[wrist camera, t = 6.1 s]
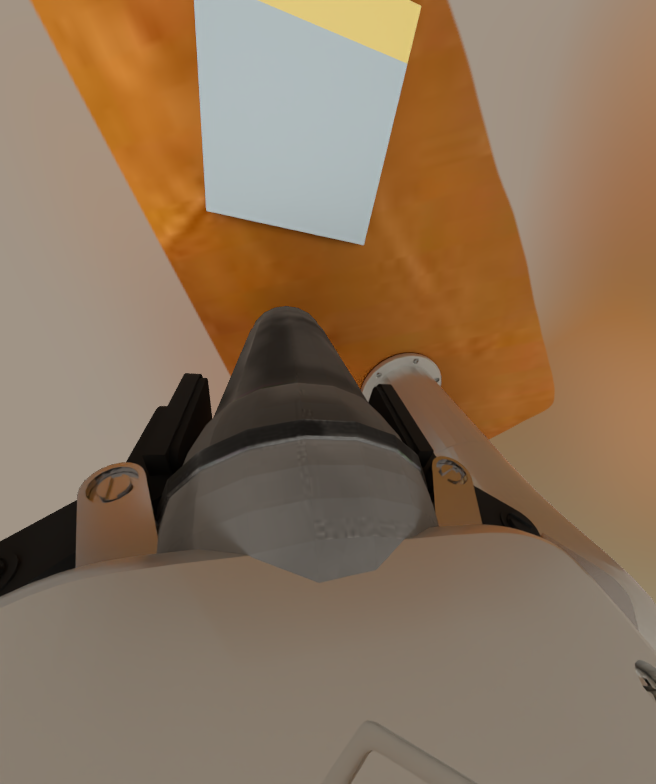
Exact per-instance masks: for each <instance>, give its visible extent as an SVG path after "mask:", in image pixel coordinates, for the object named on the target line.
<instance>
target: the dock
mask: <svg viewBox="0 0 656 784" xmlns="http://www.w3.org/2000/svg"><path fill="white" fill-rule="evenodd" d="M420 9H421V6H420V5H418V4H416V3H414V2H412V1H410V0H194V10H195V27H196V44H197V61H198V78H199V95H200V112H201V129H202V146H203V163H204V180H205V197H206V211H209V212H214V213H219V214H223V215H228V216H232V217H237V218H241V219H246V220H251V221H255V222H260V223H264V224H269V225H273V226H278V227H283V228H287V229H292V230H296V231H301V232H305V233H310V234H315V235H319V236H324V237H328V238H333V239H337V240H342V241H347V242H351V243H356V244H360V245H364V242H365V238H366V234H367V230H368V225H369V221H370V217H371V213H372V209H373V205H374V200H375V196H376V192H377V188H378V184H379V180H380V176H381V171H382V167H383V163H384V159H385V155H386V151H387V146H388V142H389V138H390V134H391V130H392V126H393V121H394V117H395V113H396V109H397V105H398V101H399V97H400V92H401V88H402V84H403V80H404V76H405V72H406V67H407V63H408V59H409V55H410V51H411V47H412V43H413V38H414V34H415V30H416V26H417V22H418V18H419V13H420Z"/></svg>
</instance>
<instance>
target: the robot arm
mask: <svg viewBox="0 0 656 784" xmlns="http://www.w3.org/2000/svg"><path fill="white" fill-rule="evenodd" d="M440 386H441V374H440V370H439V369H438V367H437V365H436V364H435V363H434V362H433V361H432V360H431V359H429V358H428V357H426V356H424V355H421V354H416V353H404V354H399V355H396V356H393V357H390V358H388V359H386V360H385V361H383V362H381V363H380V364H379V365H377V366H376V367H375V368H374V369H373V370H372V371H371V372H370V373H369V374H368V376H367V377H366V379H365V380H364V383H363V385H362V388H361V392H362V393H363V395H364V396H365V398H366V400H367V401H368V403H369V404H370V405H371V406H372V407H373V408H374V409H375V410H376V411H377V412H378V413H379V414H380V415H381V416H382V417H383V418H384V419H385V420H386V422H387V423H388V424H389V425H390V426H391V427H392V429H393V430H394V431H395V432H396V433H397V434H398V435H399V437H400V439H401V440H402V442H403V443H405V444H406V445H407V446H408V447H409V448H410V449H411V450H413V451H414V452H415V453H416V454H417V455H418V457H419V460H420V463H421V466H422V469H423V472H424V476H425V479H426V483H427V487H428V492H429V495H430V498H431V501H432V504H433V507H434V510H435V513H436V517H437V520H438V524H439V527H429V528H428V529H426V530H424V531H423V532H421V533H420V534H418V535H417V536H414V537H411V538H408V539H404V540H403V541H402V542H401V544H400V545H399V546H398V547H397V548H396V549H395V550H394V551H393V552H392V553H391V555H390V556H389V557H388V558H387V559H386V560H385V561H384V562H383V563H382V564H381V565H380V567H379V568H378V569H377V570H375V571H370V572H365V573H361V574H356V575H352V576H347V577H343V578H339V579H334V580H330V581H326V582H322V583H318V582H315V581H312V580H310V579H307V578H305V577H302V576H299V575H297V574H294V573H291V572H289V571H286V570H283V569H281V568H278V567H275V566H273V565H270V564H268V563H265V562H262V561H260V560H257V559H254V558H252V557H250V556H248V555H242V554H235V553H228V552H220V551H210V550H201V549H194V550H185V551H177V552H168V553H159V554H156V553H157V543H158V523H157V518H156V515H157V507H158V504H159V501H160V499H161V496H162V493H163V491H164V488H165V485H166V483H167V480H168V479H169V478H170V477H171V476H172V475H173V474H174V473H175V472H176V471H177V470H178V469H180V468H181V467H182V466H183V464H184V461H185V459H186V456H187V454H188V452H189V451H190V449H191V447H192V446H193V444H194V443H195V441H196V440H197V438H198V437H199V435H200V433H201V432H202V430H203V429H204V427H205V426H206V425H207V424H208V423H209V422H210V421H211V420H212V413H211V404H210V395H209V386H208V379H207V378H203V377H202V375H201V374H189V373H185V374H184V376H183V378H182V379H181V382H180V383H179V385H178V387H177V389H176V391H175V393H174V395H173V397H172V399H171V401H170V403H169V405H168V406H160V407H158V408H157V409H156V411H155V413H154V414H153V416H152V418H151V419H150V421H149V423H148V425H147V426H146V428H145V430H144V432H143V433H142V435H141V437H140V439H139V441H138V442H137V444H136V446H135V448H134V449H133V451H132V453H131V455H130V456H129V458H128V460H127V462H126V463H125V462H122V463H117V464H112V465H109V466H107V467H104V468H102V469H100V470H98V471H96V472H95V473H93V474H92V475H91V476H89V477H88V478H87V479H86V480H85V481H84V482H83V484H82V485H81V487H80V488H79V491H78V495H77V500H76V501H75V502H72V503H71V504H69V505H67V506H65V507H63V508H62V509H59V510H58V511H56V512H54V513H52V514H50V515H48V516H46V517H45V518H43V519H41V520H39V521H37V522H35V523H34V524H32V525H30V526H28V527H26V528H24V529H22V530H21V531H19V532H17V533H15V534H13V535H11V536H10V537H8V538H6V539H4V540H2V541H0V784H656V604H655V603H654V601H653V600H652V599H651V597H650V596H649V595H648V594H647V593H646V592H645V591H644V590H643V589H642V587H641V586H640V585H639V584H638V583H637V582H636V581H635V580H634V579H633V578H632V577H631V576H630V575H629V574H628V573H627V572H626V571H625V570H624V569H623V568H622V567H621V566H620V565H619V564H617V562H616V561H615V560H613V559H612V558H611V557H610V556H609V555H608V554H607V553H605V552H604V551H603V550H602V549H601V548H600V547H598V546H597V545H596V544H595V543H594V542H593V541H592V540H590V539H589V538H588V537H587V536H586V535H585V534H583V533H582V532H581V531H580V530H579V529H578V528H577V527H575V526H574V525H573V524H572V523H571V522H570V521H568V520H567V519H566V518H565V517H564V516H563V515H562V514H560V513H559V512H558V511H557V510H556V509H555V508H554V507H553V506H552V505H551V504H550V503H548V501H547V500H546V499H544V498H543V497H542V496H541V495H540V494H539V493H538V492H537V491H536V490H535V489H534V488H533V487H532V486H531V485H530V484H529V483H528V482H527V481H526V480H525V479H524V478H523V477H522V476H521V475H520V474H519V473H518V472H517V470H516V469H514V467H513V466H512V465H511V464H510V463H509V462H508V461H507V460H506V459H505V458H504V457H503V456H502V454H501V453H500V452H499V451H498V450H497V449H496V448H495V447H494V446H493V445H492V443H491V442H490V441H489V440H488V439H487V438H486V437H485V436H484V434H483V433H482V432H481V431H480V430H479V429H478V428H477V427H476V426H475V424H474V423H473V422H472V421H471V420H470V419H469V418H468V417H467V416H466V414H465V413H464V412H463V411H462V410H461V409H460V408H459V407H458V406H457V404H456V403H455V402H454V401H453V400H452V399H451V398H450V397H449V396H448V394H447V393H446V392H445V391H444V390H443V389H442V388H441V387H440Z"/></svg>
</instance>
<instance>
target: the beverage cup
mask: <svg viewBox="0 0 656 784" xmlns="http://www.w3.org/2000/svg"><path fill="white" fill-rule="evenodd" d="M156 518H157V523H158V543H157V553H156V554H159V553H168V552H177V551H185V550H194V549H201V550H210V551H220V552H228V553H235V554H242V555H248V556H250V557H252V558H254V559H257V560H260V561H262V562H265V563H268V564H270V565H273V566H275V567H278V568H281V569H283V570H286V571H289V572H291V573H294V574H297V575H299V576H302V577H305V578H307V579H310V580H312V581H315V582H318V583H322V582H326V581H330V580H334V579H339V578H343V577H347V576H352V575H356V574H361V573H365V572H370V571H375V570H377V569H378V568H379V567H380V565H381V564H382V563H383V562H384V561H385V560H386V559H387V558H388V557H389V556H390V555H391V553H392V552H393V551H394V550H395V549H396V548H397V547H398V546H399V545H400V544H401V542H402V541H403V540H404V539H408V538H411V537H414V536H417V535H418V534H420V533H421V532H423V531H424V530H426V529H428V528H429V527H439V524H438V520H437V517H436V513H435V510H434V507H433V504H432V501H431V498H430V495H429V492H428V487H427V483H426V479H425V476H424V472H423V469H422V466H421V463H420V460H419V457H418V455H417V454H416V453H415V452H414V451H413V450H411V449H410V448H409V447H408V446H407V445H406V444H405V443H403V442H402V440H401V439H400V437H399V435H398V434H397V433H396V432H395V431H394V430H393V429H392V427H391V426H390V425H389V424H388V423H387V422H386V420H385V419H384V418H383V417H382V416H381V415H380V414H379V413H378V412H377V411H376V410H375V409H374V408H373V407H372V406H371V405H370V404H369V403H368V401H367V400H366V398H365V396H364V395H363V393H362V392H361V390H360V388H359V387H358V385H357V384H356V382H355V380H354V379H353V377H352V375H351V374H350V372H349V371H348V369H347V367H346V366H345V364H344V363H343V361H342V359H341V358H340V356H339V355H338V353H337V351H336V350H335V348H334V347H333V345H332V343H331V342H330V340H329V339H328V337H327V335H326V334H325V332H324V331H323V329H322V328H321V327H320V326H319V325H318V324H317V322H316V321H315V319H314V318H313V317H312V316H311V315H310V314H309V313H307V312H305V311H303V310H301V309H299V308H295V307H289V306H284V307H277V308H273V309H271V310H269V311H267V312H265V313H263V315H262V316H261V317H260V318H259V319H258V320H257V321H256V322H255V325H254V327H253V328H252V329H251V331H250V333H249V336H248V338H247V340H246V343H245V345H244V347H243V350H242V352H241V354H240V357H239V359H238V361H237V364H236V366H235V368H234V371H233V373H232V375H231V378H230V380H229V382H228V385H227V387H226V390H225V392H224V394H223V397H222V399H221V401H220V404H219V406H218V408H217V411H216V413H215V415H214V418H213V419H212V420H211V421H210V422H209V423H208V424H207V425H206V426H205V427H204V429H203V430H202V432H201V433H200V435H199V437H198V438H197V440H196V441H195V443H194V444H193V446H192V447H191V449H190V451H189V452H188V454H187V456H186V459H185V461H184V464H183V466H182V467H181V468H180V469H178V470H177V471H176V472H175V473H174V474H173V475H172V476H171V477H170V478H169V479H168V480H167V483H166V485H165V488H164V491H163V493H162V496H161V499H160V501H159V504H158V507H157V515H156Z"/></svg>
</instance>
